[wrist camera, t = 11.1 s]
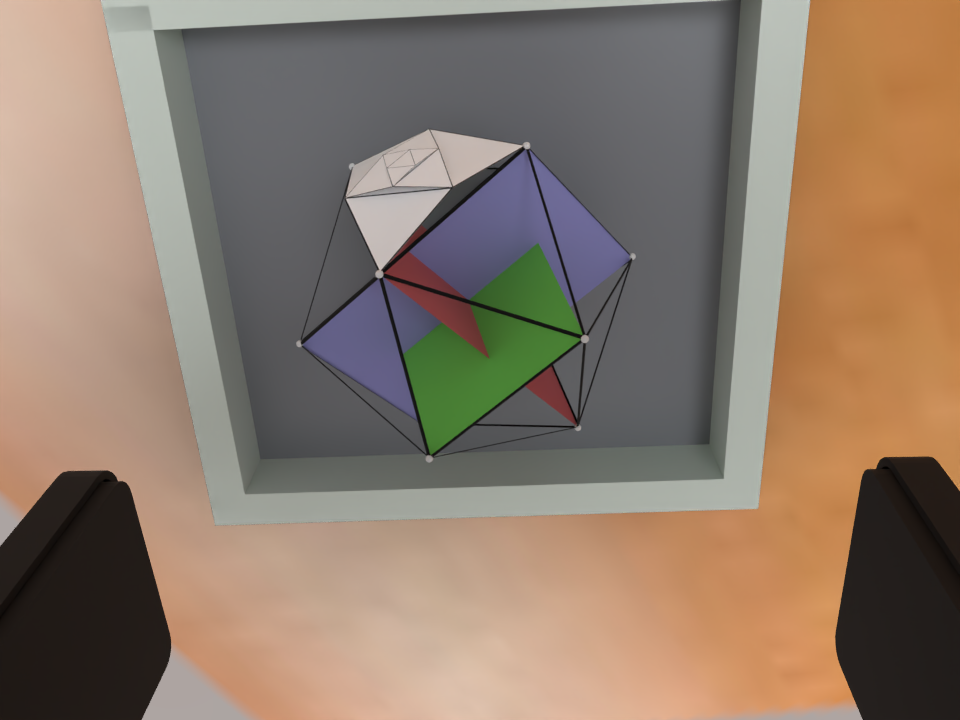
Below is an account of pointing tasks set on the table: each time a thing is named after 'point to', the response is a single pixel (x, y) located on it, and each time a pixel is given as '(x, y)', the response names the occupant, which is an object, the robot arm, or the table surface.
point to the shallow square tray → (464, 110)
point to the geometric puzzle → (465, 284)
